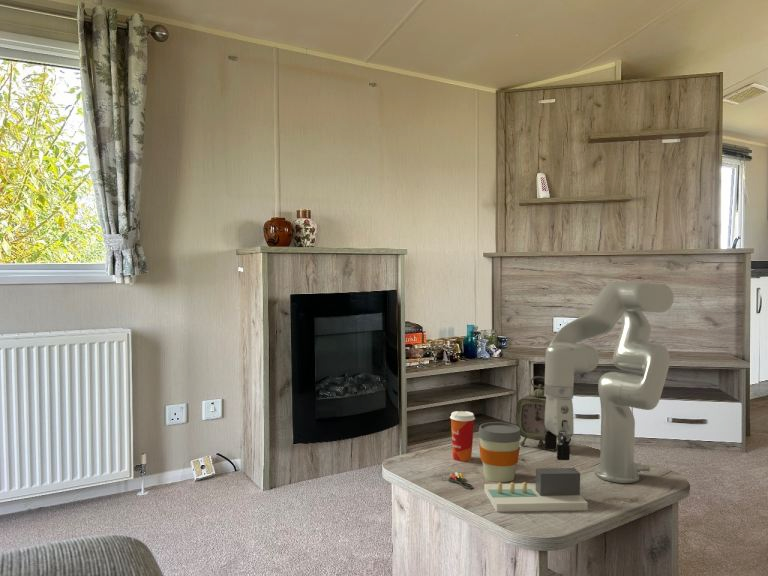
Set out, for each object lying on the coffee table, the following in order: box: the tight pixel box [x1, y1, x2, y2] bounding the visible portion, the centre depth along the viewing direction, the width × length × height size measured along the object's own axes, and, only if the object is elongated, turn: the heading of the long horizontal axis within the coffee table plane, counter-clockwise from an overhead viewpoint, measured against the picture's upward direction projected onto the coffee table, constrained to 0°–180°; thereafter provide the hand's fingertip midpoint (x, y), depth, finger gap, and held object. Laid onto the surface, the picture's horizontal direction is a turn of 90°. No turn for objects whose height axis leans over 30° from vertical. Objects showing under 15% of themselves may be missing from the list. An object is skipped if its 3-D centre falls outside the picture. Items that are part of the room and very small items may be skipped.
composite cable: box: [447, 471, 473, 490], centre depth 170 cm, size 10×5×2 cm, turn 17°
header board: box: [483, 481, 588, 513], centre depth 158 cm, size 24×14×5 cm, turn 93°
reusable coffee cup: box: [478, 421, 522, 483], centre depth 176 cm, size 13×13×15 cm
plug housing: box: [535, 467, 581, 496], centre depth 159 cm, size 11×4×6 cm, turn 93°
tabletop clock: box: [515, 375, 556, 452], centre depth 206 cm, size 14×9×25 cm, turn 59°
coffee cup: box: [449, 410, 476, 462], centre depth 192 cm, size 8×8×15 cm
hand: (556, 454), depth 158 cm, fingers open, 9 cm apart
